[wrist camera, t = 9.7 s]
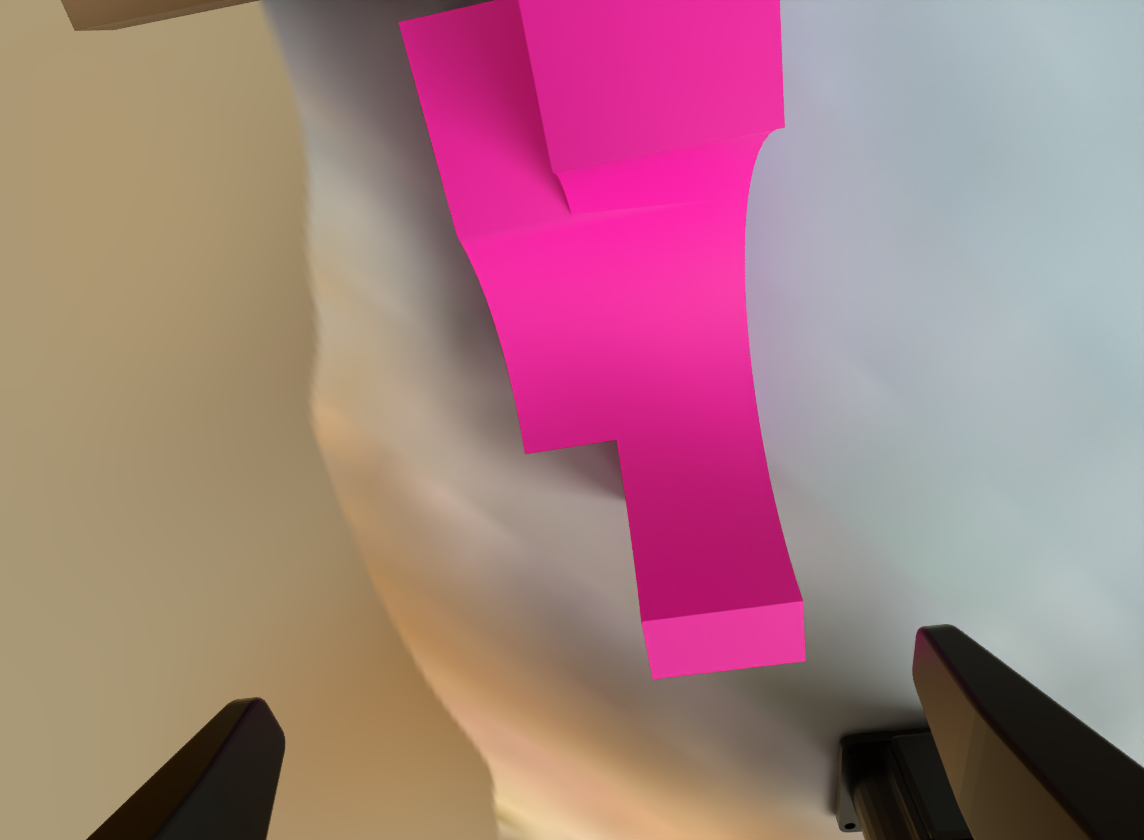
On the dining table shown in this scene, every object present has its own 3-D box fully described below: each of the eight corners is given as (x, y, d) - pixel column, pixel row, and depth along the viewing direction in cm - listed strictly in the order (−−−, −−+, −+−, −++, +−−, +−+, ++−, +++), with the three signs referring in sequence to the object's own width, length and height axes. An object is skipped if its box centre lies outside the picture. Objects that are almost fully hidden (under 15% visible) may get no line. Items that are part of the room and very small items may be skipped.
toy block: (441, 22, 17) (352, 22, 10) (699, -37, 16) (777, -76, 10) (562, 510, 24) (555, 691, 18) (743, 483, 24) (805, 661, 17)
